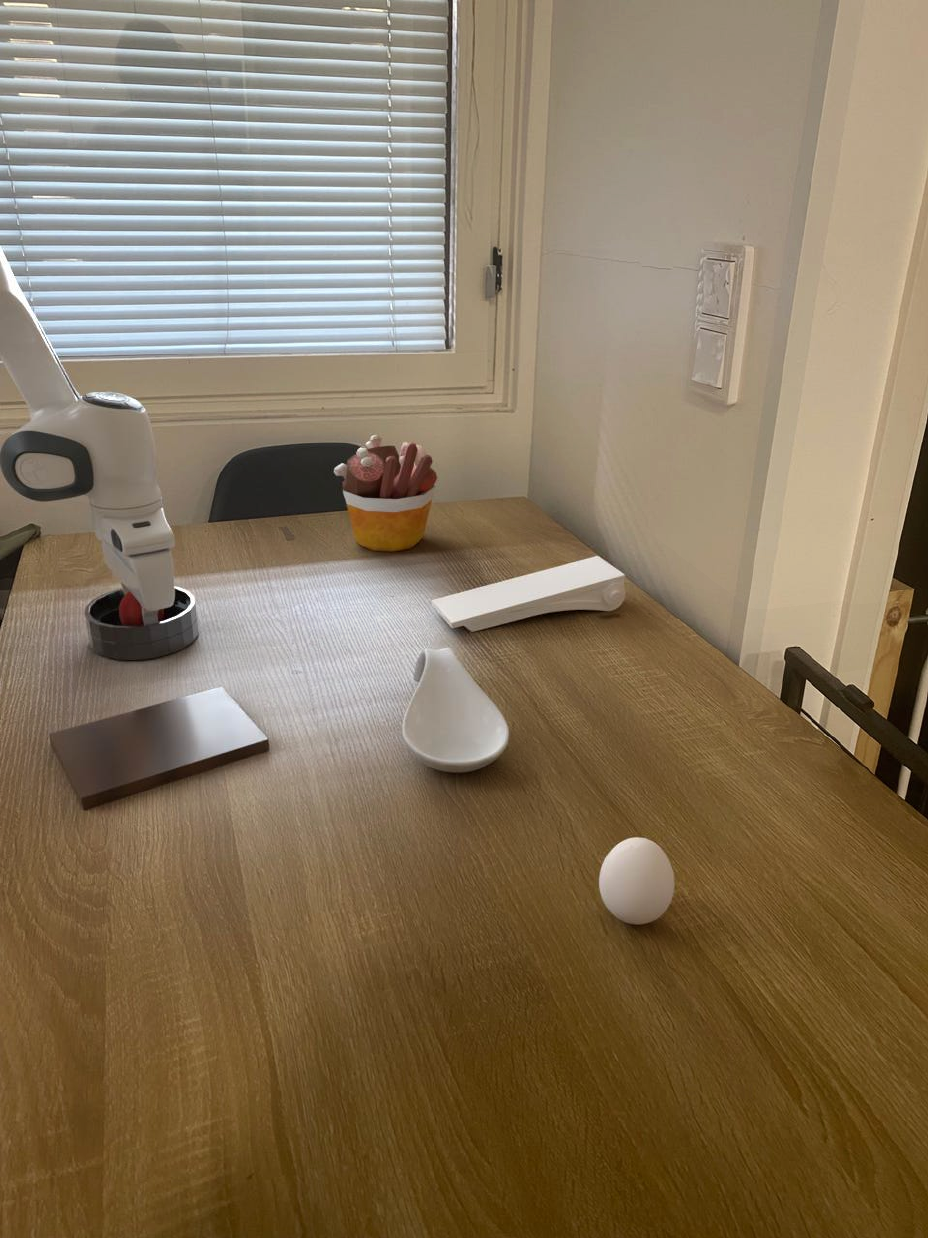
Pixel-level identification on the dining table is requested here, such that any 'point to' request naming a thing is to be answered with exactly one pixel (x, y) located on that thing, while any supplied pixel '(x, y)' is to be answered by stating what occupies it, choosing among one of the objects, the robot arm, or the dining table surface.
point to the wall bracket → (536, 595)
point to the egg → (636, 881)
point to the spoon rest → (451, 717)
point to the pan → (140, 628)
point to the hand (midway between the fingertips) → (142, 616)
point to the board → (155, 745)
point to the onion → (133, 611)
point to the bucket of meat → (388, 494)
